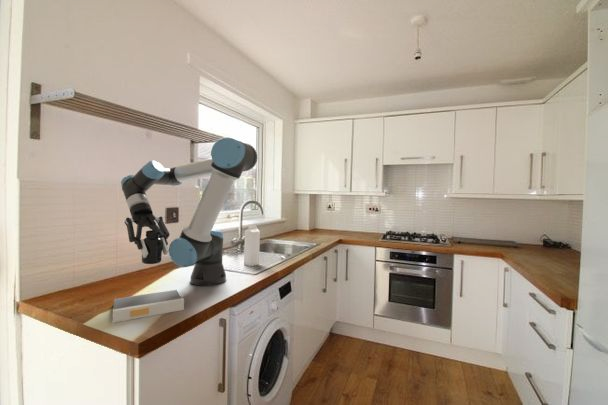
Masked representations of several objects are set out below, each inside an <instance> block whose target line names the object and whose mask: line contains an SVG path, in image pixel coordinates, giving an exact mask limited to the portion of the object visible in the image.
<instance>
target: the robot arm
mask: <svg viewBox="0 0 608 405" xmlns="http://www.w3.org/2000/svg"><path fill="white" fill-rule="evenodd" d="M210 156H211V157H210V158H206V159H202V160H198V161H194V162H191V163H186V164H183V165H178V166H175V167H171V168H167V167H164V166H163V165H162V164H161V163H160V162H157V161H156V160H149V161H148V162H147V163H146V164H144V165H143V166H142V167H141V168H140V169H139V171H137V172H136V174H128V175H126V176H124V177H123V178H122V179H121V181H120V184H121V191H122V192H123V195H124V197H125V199H126V203H127V206H128V210H129V212H130V216H131V217H126V218H125V220H124V224H125V226H126V229H127V235H128V241H129V243H134V245H136V247H137V249H138V250H139V251H141V256H142V255H143V258H146V256H147V255H148V251H147V248H146V245H145V243H144V240H143V239H144V238H142V232H143V228H145V227H147V228H148V229H149V230H157V231H160V236H159V237H160V238H161V239H162V240H163V244H162V254H163V255H164V256H167V255H169V256H170V260H171V261H172V263H173V264H175V265H176V266H178V267H180V268H189V267H192V266H193V269H192V272H191V275H190V284H192V285H194V286H201V287H203V286H205V287H207V286H215V285H221V284H222V283H225V281H226V280H227V279H226V278H227V274H226V271H225V268H224V264H223V252H224V248H223V247H224V233H223V231H222V230H217V229H216V230H215V229H213V228H214V227H215V226H214V225H215V223H216V221H217V219H218V217H219V214H220V213H221V211H222V208H223V206H224V204H225V201H226V199H227V197H228V195H229V192H230V190H231V188H232V186H233V183H234V182H235V181H237V180H239V179H240V178H241V175H242V173H243V172H248V171H250V170H252V169H254V167H255V166H256V164H257V163H258V153H257V151H256V149H255V148H254V146H252V145H251V144H249V143H247V142H244V141H242V140H241V139H239V138H236V137H232V136H224V137H222V138H219V139H217V140H216V141H215V142H214V144H213V145H212V148H211V151H210ZM208 177H209V179H208V182H207V184H206V186H205V189H204V190H203V193H202V195H201V197H200V200H199V203H198V204H197V207H196V209H195V211H194V214H193V216H192V218H191V219H190V222H189V225H188V226H185V227H183V229H182V230H181V233H180V235H179V237H177V238H174V239H173V240H172V241H171V243H170V244H169V243H168V238H169V237H170V235H171V234H170V232H169V230H168V228H167V226H166V224H165V223H164V219H163V218H164V217H163V216H159V217H157V216H155V215H154V213H153V209H152V207H151V204H150V201H149V199H148V197H147V194H146V192H147V191H148V190H149V189H151V187H152V186H153V185H161V186H163V185H164V186H172V187H174V186H181V185H182V184H183V183H187V182H190V181H195V180H199V179H204V178H208ZM133 223H134V224H136V225H137V226H136V234H135V229H134V225H133ZM168 245H169V246H168Z"/></svg>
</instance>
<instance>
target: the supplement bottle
mask: <svg viewBox="0 0 608 405" xmlns="http://www.w3.org/2000/svg"><path fill="white" fill-rule="evenodd" d="M159 236H160V231H157V230H152V229H149V230H146V231H145V237H144V238H142V239H143V240H144V243H145V245H146V248H147V251H148V255H147V256H146V258H143V255H142V254H141V263H142V264H143V265H145V264H146V265H157V264H159V263H161V262H162V259H163V251H162V244H163V240H162V239H161V238H160V237H159Z"/></svg>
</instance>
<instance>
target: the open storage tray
mask: <svg viewBox="0 0 608 405" xmlns="http://www.w3.org/2000/svg"><path fill="white" fill-rule="evenodd" d="M179 293H180V292H179V291H178V290H177V289H172V290H165V291H159V292H152V293H151V292H150V293H145V294H137V295H131V296H125V297H118V298H114V300H113V309H112V324H114V323H119V322H123V321H124V322H125V321H131V320H136V319H141V318H147V317H151V316H157V315H162V314H168V313H169V314H170V313H174V312H179V311H184V310H185V298H183V297H181V296H180V294H179Z"/></svg>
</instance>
